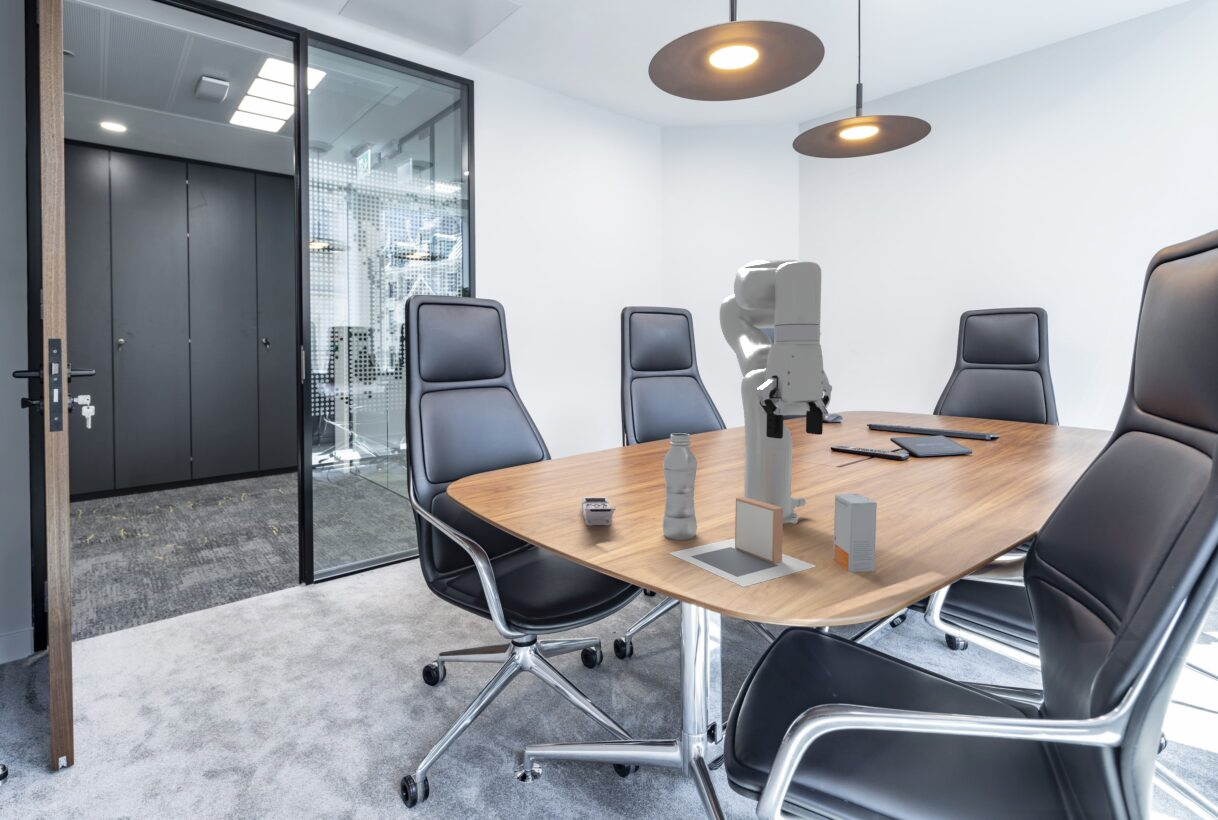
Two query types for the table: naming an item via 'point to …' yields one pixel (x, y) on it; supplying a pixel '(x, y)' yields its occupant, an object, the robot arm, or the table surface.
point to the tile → (759, 529)
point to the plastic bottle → (679, 489)
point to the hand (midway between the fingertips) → (794, 435)
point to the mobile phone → (597, 511)
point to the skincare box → (854, 532)
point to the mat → (739, 563)
